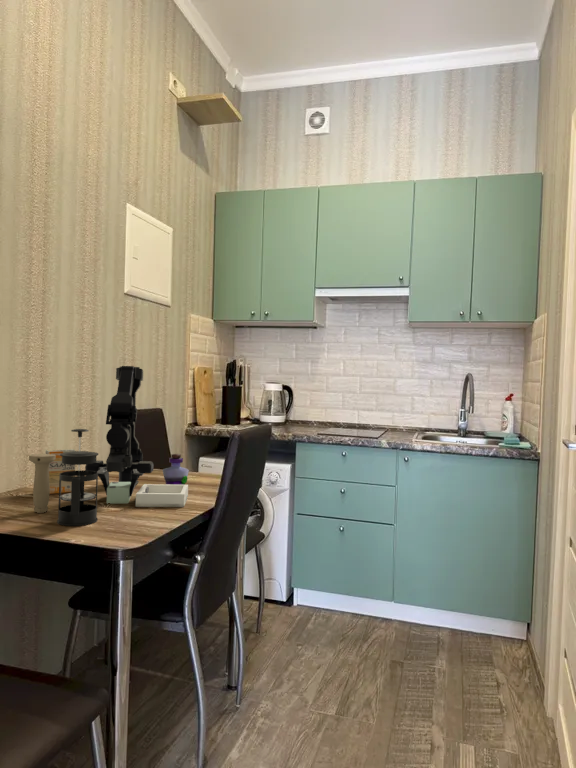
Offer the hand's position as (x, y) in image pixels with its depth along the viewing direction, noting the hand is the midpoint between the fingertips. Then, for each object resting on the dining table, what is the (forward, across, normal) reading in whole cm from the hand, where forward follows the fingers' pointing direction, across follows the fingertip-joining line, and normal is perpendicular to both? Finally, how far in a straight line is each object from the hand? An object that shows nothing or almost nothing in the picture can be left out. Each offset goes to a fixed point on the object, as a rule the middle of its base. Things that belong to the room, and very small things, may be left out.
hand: (119, 495), depth 163 cm
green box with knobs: (+1, 0, 0) cm, 1 cm away
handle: (+1, -17, -16) cm, 23 cm away
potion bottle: (+1, +15, +13) cm, 20 cm away
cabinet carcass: (+1, +13, -2) cm, 13 cm away
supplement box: (+1, -20, +10) cm, 22 cm away
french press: (+1, -5, -26) cm, 27 cm away
